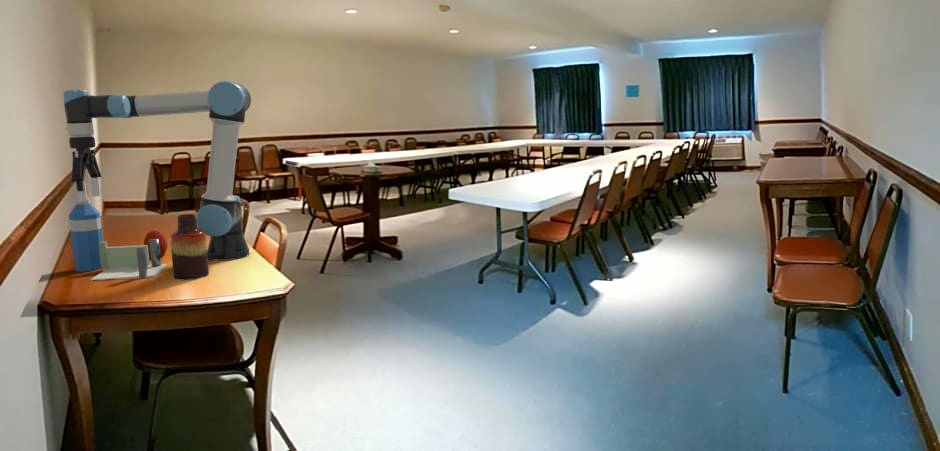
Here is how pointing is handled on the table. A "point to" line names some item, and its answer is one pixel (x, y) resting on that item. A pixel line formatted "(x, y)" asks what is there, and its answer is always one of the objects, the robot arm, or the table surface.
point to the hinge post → (155, 252)
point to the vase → (189, 249)
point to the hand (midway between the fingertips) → (89, 198)
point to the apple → (161, 241)
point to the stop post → (141, 262)
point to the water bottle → (85, 236)
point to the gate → (120, 256)
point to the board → (128, 272)
